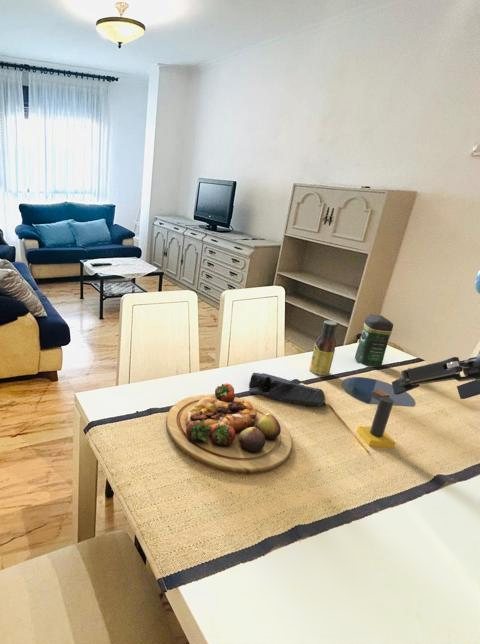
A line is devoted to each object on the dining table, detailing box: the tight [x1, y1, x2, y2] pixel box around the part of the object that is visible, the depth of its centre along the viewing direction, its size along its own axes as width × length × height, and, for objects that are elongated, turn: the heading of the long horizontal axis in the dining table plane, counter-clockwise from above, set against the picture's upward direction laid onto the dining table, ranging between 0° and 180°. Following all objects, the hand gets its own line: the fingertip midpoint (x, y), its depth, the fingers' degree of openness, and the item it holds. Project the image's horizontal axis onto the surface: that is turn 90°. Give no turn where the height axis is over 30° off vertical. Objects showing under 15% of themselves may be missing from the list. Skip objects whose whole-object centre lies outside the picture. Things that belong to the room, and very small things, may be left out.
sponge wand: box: [354, 397, 396, 453], centre depth 96 cm, size 6×6×14 cm
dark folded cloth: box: [248, 372, 326, 407], centre depth 121 cm, size 15×22×5 cm
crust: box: [372, 390, 390, 398], centre depth 120 cm, size 3×3×1 cm
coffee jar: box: [354, 313, 394, 368], centre depth 141 cm, size 10×8×19 cm
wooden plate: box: [165, 382, 293, 476], centre depth 100 cm, size 32×32×8 cm
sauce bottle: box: [309, 320, 338, 377], centre depth 131 cm, size 6×6×20 cm
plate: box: [340, 376, 416, 408], centre depth 122 cm, size 20×20×1 cm
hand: (427, 390), depth 82 cm, fingers open, 13 cm apart
